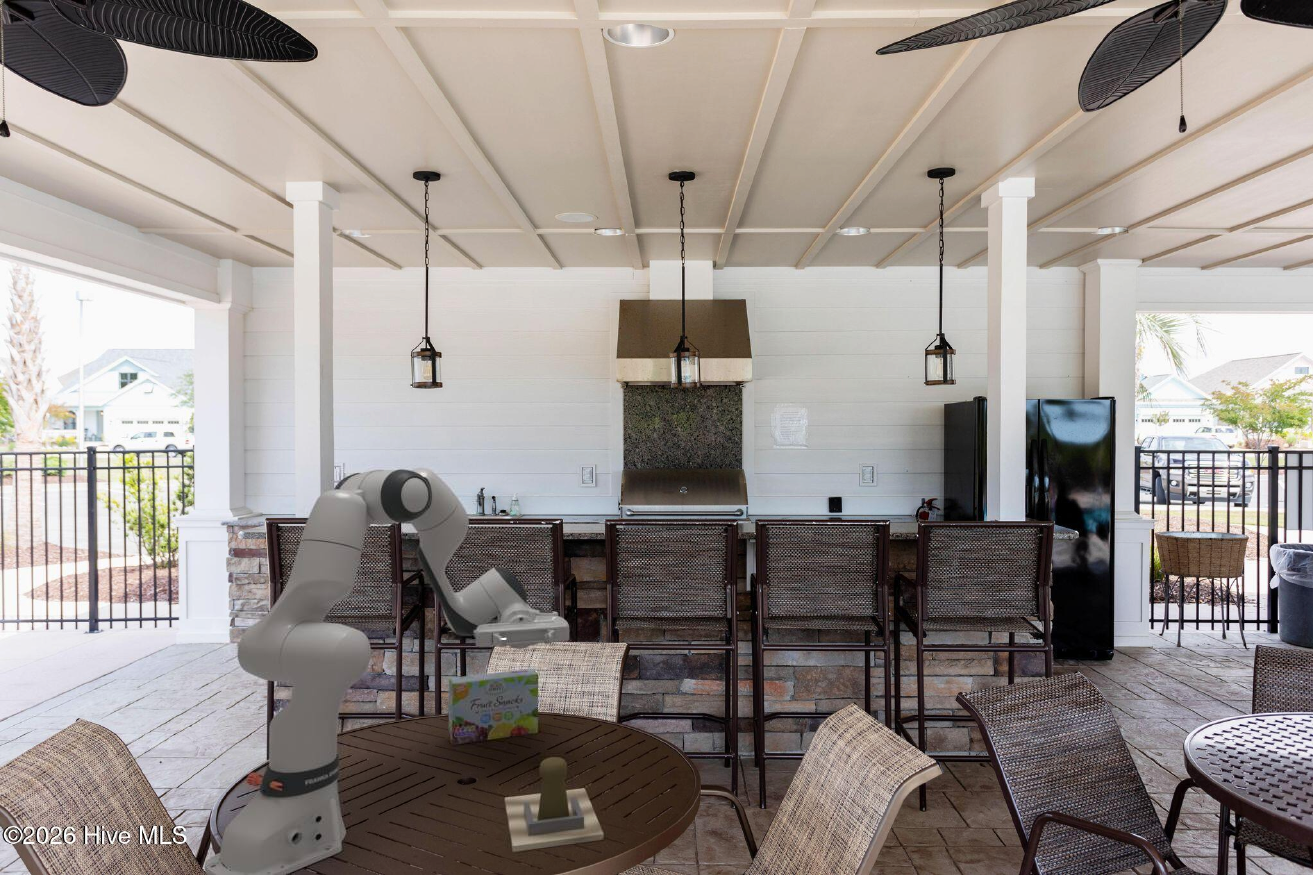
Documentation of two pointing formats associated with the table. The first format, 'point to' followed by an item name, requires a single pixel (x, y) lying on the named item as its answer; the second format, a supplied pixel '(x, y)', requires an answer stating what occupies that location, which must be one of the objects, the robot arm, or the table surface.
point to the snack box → (493, 706)
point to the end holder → (554, 821)
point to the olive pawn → (553, 789)
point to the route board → (526, 842)
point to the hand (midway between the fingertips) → (525, 641)
